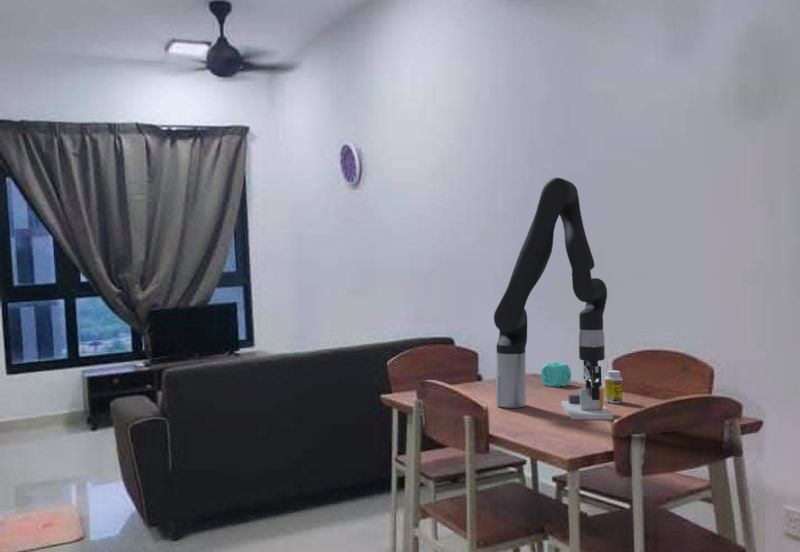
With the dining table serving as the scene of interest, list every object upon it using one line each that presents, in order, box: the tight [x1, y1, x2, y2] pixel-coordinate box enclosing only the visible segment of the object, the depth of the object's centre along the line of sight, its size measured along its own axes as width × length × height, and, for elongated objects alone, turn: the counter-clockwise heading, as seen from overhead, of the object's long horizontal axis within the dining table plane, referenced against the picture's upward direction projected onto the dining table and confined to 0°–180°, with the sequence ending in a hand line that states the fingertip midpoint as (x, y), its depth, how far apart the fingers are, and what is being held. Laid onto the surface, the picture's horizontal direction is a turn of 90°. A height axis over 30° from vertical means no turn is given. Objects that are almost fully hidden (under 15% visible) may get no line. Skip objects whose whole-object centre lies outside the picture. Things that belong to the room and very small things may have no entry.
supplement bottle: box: [604, 369, 623, 404], centre depth 245 cm, size 6×6×10 cm
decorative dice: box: [540, 362, 572, 388], centre depth 278 cm, size 8×8×8 cm
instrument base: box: [560, 394, 614, 420], centre depth 230 cm, size 12×20×5 cm, turn 177°
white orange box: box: [579, 387, 604, 410], centre depth 226 cm, size 6×3×6 cm, turn 87°
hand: (592, 397), depth 227 cm, fingers open, 8 cm apart
